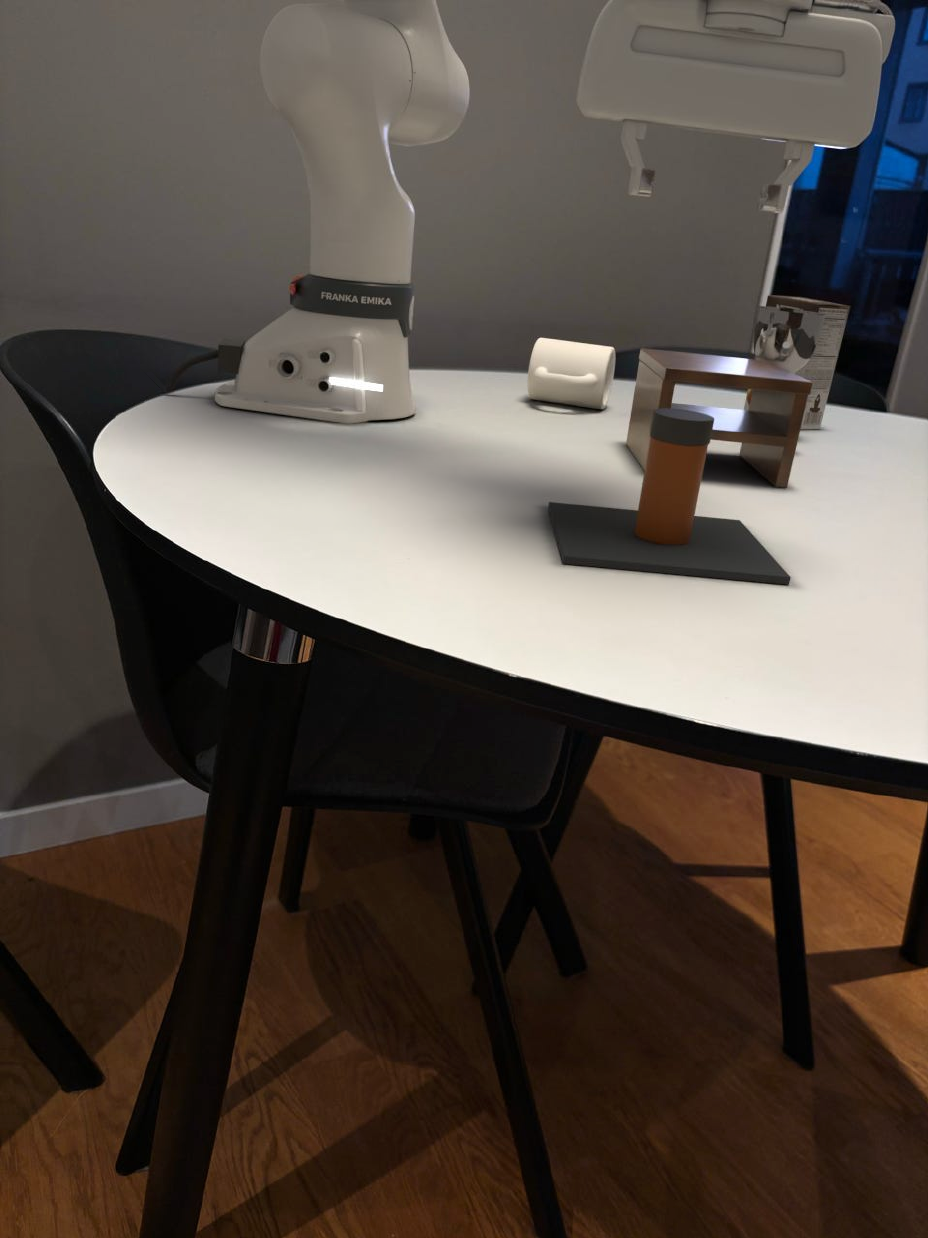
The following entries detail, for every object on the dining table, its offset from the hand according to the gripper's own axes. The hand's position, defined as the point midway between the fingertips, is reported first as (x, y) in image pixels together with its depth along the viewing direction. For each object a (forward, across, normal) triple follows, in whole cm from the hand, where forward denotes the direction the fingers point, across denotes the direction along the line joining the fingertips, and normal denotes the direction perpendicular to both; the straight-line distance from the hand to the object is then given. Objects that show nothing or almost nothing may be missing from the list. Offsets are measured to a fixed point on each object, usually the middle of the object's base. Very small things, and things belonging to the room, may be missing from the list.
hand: (704, 203), depth 70 cm
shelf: (+24, -10, -25) cm, 36 cm away
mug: (+25, +2, -53) cm, 59 cm away
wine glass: (+24, -23, -47) cm, 58 cm away
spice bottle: (+23, 0, +5) cm, 24 cm away
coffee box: (+24, -28, -57) cm, 68 cm away
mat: (+24, 0, +5) cm, 24 cm away
